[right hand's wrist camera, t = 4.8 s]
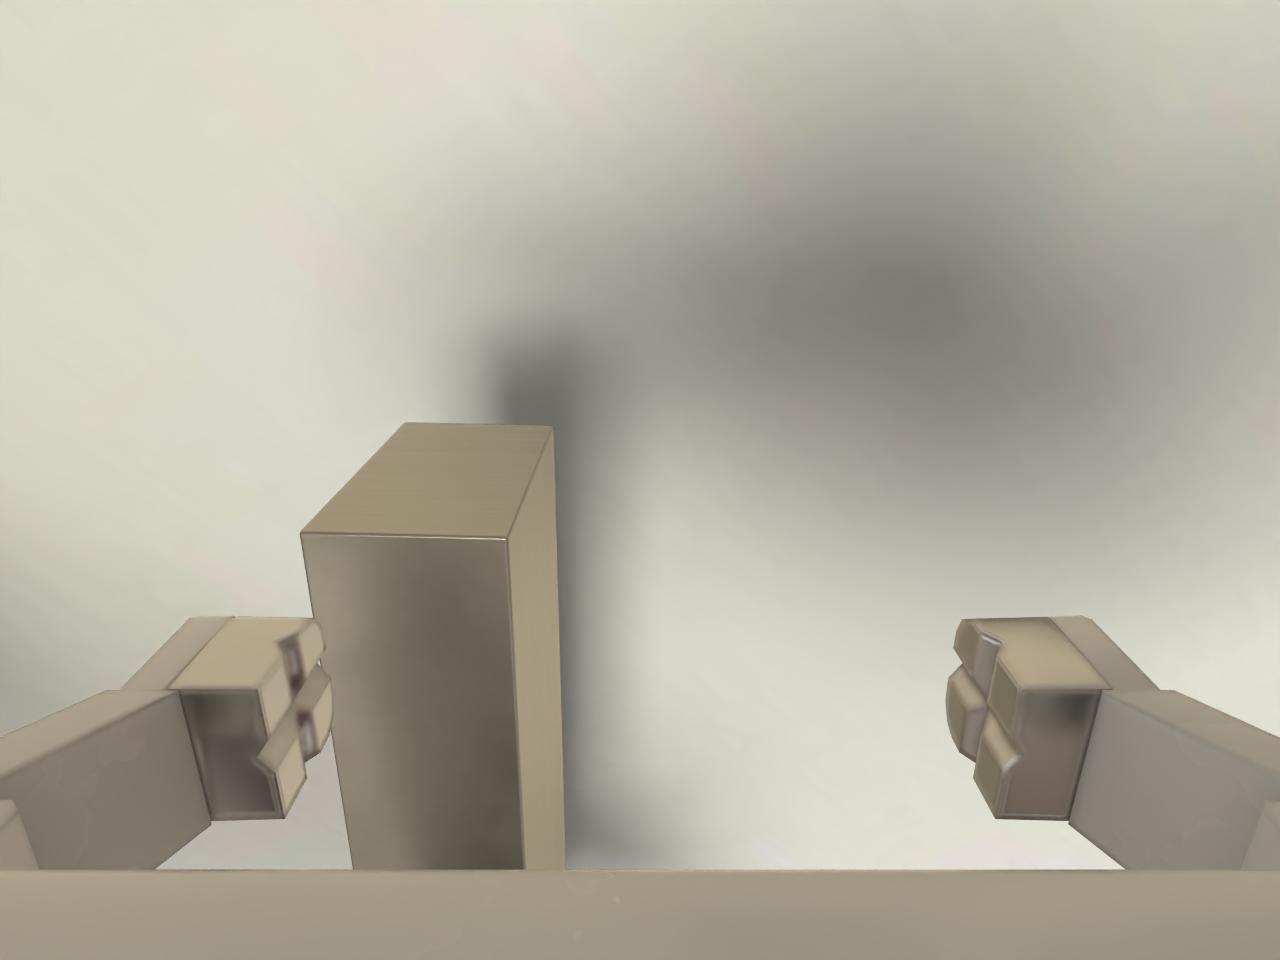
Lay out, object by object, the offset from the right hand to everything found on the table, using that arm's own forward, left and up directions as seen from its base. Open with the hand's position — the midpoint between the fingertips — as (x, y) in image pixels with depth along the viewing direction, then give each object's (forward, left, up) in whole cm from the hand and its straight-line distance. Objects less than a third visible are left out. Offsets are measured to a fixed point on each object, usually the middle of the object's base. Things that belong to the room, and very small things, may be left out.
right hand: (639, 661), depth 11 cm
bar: (+13, +11, -16) cm, 23 cm away
